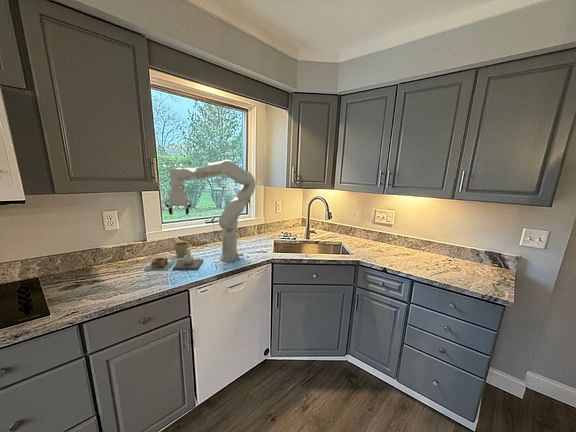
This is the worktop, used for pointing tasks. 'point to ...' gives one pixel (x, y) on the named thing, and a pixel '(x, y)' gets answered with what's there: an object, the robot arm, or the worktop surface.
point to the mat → (160, 268)
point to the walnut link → (159, 262)
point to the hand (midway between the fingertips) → (179, 214)
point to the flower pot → (181, 249)
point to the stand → (188, 262)
